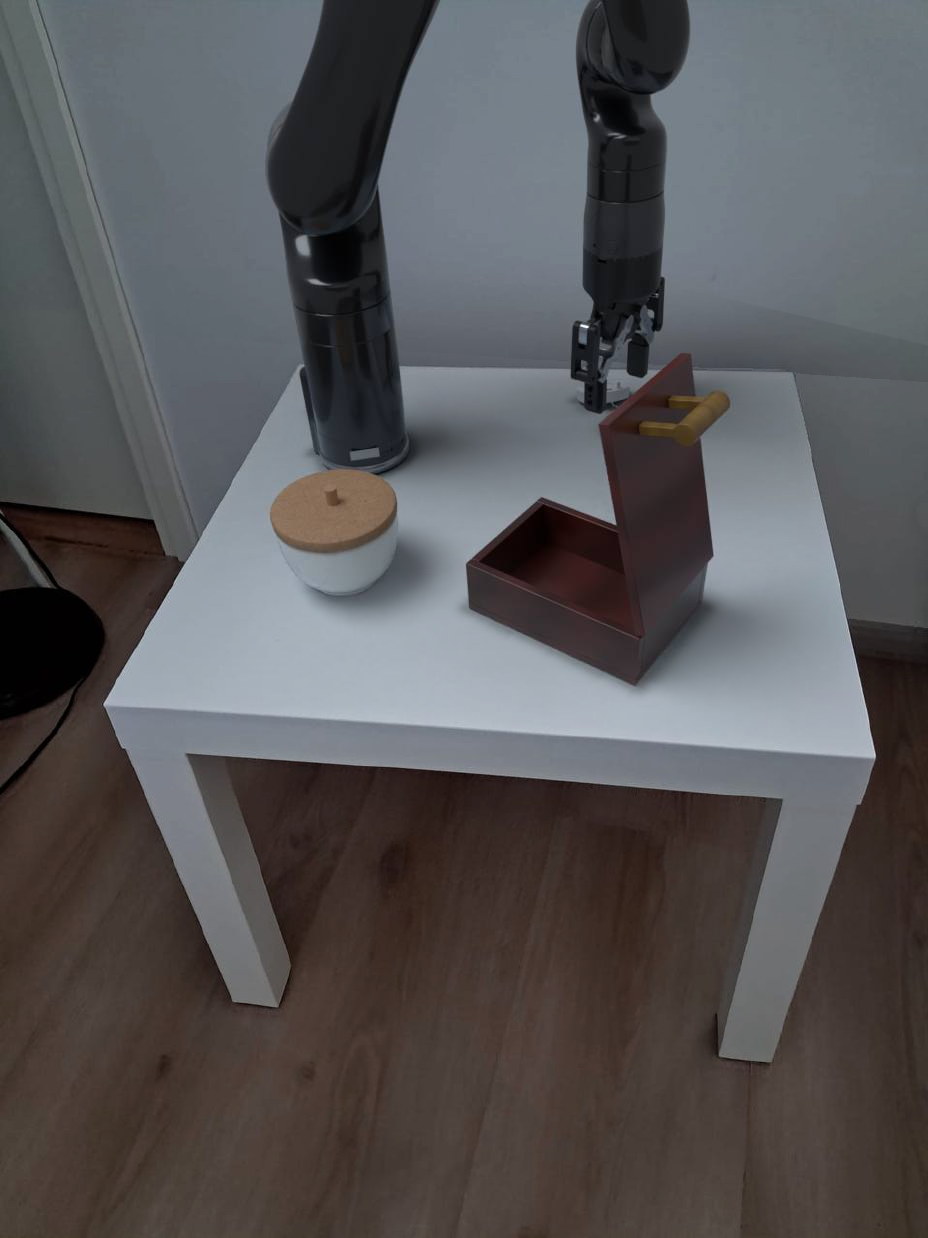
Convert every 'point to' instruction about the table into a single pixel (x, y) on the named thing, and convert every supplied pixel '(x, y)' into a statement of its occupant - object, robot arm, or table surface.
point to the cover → (661, 487)
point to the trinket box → (337, 529)
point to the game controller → (610, 392)
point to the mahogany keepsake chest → (572, 590)
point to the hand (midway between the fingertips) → (616, 392)
